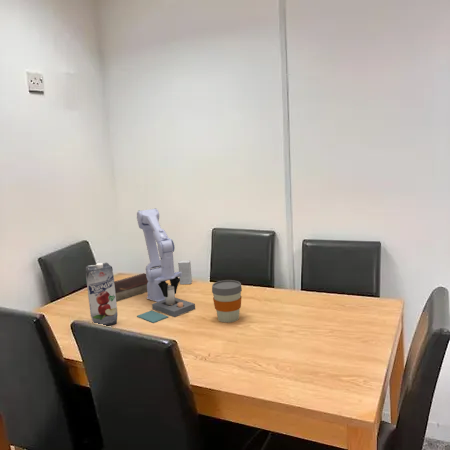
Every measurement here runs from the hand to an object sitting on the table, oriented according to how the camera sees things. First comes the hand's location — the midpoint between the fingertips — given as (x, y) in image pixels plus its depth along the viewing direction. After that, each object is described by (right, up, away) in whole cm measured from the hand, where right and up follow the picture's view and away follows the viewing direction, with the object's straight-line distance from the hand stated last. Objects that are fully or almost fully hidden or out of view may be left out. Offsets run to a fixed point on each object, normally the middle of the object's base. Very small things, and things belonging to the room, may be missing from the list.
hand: (169, 295), depth 214 cm
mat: (-7, -8, -9) cm, 14 cm away
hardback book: (-24, -3, +30) cm, 39 cm away
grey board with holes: (+2, -6, 0) cm, 7 cm away
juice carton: (-26, -10, -13) cm, 31 cm away
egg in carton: (+5, -6, -4) cm, 9 cm away
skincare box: (+4, +1, +37) cm, 38 cm away
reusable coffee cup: (+27, -8, -15) cm, 32 cm away
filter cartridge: (0, -4, +1) cm, 4 cm away
